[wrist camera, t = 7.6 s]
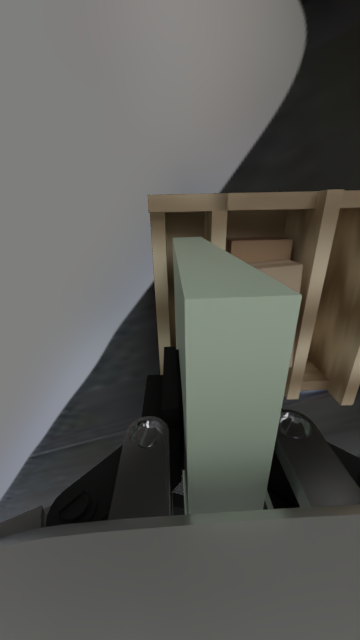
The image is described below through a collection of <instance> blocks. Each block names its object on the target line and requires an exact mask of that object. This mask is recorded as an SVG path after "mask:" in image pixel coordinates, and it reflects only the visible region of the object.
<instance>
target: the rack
mask: <svg viewBox="0 0 360 640" xmlns="http://www.w3.org/2000/svg"><path fill="white" fill-rule="evenodd" d="M148 207H149V213H150V221H151V237H152V252H153V268H154V283H155V298H156V314H157V329H158V344H159V360H160V375H163V362H164V347H173V346H176V326H175V296H174V267H173V238H174V237H202V238H204V239H206V240H207V241H209V242H211V243H213V244H214V245H216V246H218V247H220V248H221V249H223V250H226V238H238V237H275V236H277V237H282V238H288V239H293V244H292V251H291V257H290V260H291V261H294V262H297V263H300V264H302V265H303V269H302V278H301V287H300V294H301V295H302V299H301V304H300V310H299V315H298V321H297V326H296V333H295V342H294V351H293V360H292V367H289V370H288V376H287V381H286V387H285V392H284V395H285V397H286V399H298V398H299V394H300V391H307V390H327V391H328V392H329V393H330V394H331V395H332V396H333V397H334V398H335V399H336V400H337V402H338V403H339V404H340V405H353V403H354V400H355V397H356V394H357V391H358V388H359V385H360V190H355V191H344V189H334V190H323V191H308V192H261V193H213V194H168V195H167V194H166V195H148Z"/></svg>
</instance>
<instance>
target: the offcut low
mask: <svg viewBox="0 0 360 640" xmlns="http://www.w3.org/2000/svg"><path fill="white" fill-rule="evenodd" d="M292 244H293V239H288V238H282V237H277V236H275V237H238V238H226V250H225V251H226V252H228V253H230V254H232V255H233V256H235V257H237V258H239V259H240V260H242V261H244V262H246V263H248V262H257V261H267V260H277V259H288V260H290V257H291V251H292Z"/></svg>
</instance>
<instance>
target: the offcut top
mask: <svg viewBox="0 0 360 640" xmlns="http://www.w3.org/2000/svg"><path fill="white" fill-rule="evenodd" d="M247 264H249V265H251V266H253V267H254V268H256V269H258V270H259V271H261V272H263V273H265V274H266V275H268V276H270V277H272V278H273V279H275V280H277V281H279V282H280V283H282V284H284V285H286V286H287V287H289V288H291V289H293V290H294V291H296V292H298V293H299V294H300V287H301V278H302V269H303V265H302V264H300V263H297V262H294V261H291V260H288V259H277V260H267V261H257V262H248V263H247ZM295 333H296V332H295ZM294 342H295V337H294ZM293 351H294V343H293V348H292V354H291V359H290V365H289V367H292V360H293Z"/></svg>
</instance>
